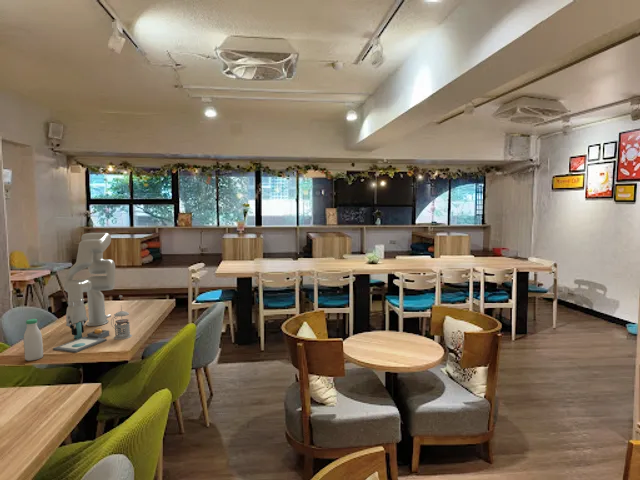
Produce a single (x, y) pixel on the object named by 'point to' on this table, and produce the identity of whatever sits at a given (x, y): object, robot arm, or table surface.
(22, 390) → the table surface
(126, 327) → the french press
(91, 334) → the button housing
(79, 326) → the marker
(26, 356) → the milk bottle
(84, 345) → the drawing board
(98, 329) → the button
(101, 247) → the robot arm
